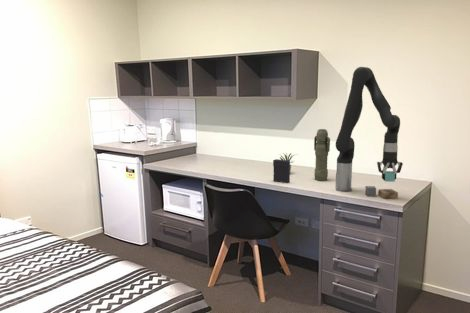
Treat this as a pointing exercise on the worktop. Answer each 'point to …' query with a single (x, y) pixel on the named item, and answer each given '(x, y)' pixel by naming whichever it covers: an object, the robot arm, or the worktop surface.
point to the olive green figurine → (321, 154)
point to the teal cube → (389, 176)
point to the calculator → (281, 170)
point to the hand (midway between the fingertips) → (388, 179)
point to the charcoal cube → (370, 191)
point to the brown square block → (388, 194)
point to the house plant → (288, 158)
